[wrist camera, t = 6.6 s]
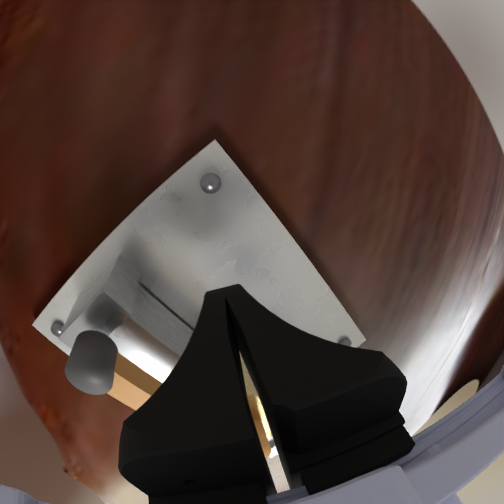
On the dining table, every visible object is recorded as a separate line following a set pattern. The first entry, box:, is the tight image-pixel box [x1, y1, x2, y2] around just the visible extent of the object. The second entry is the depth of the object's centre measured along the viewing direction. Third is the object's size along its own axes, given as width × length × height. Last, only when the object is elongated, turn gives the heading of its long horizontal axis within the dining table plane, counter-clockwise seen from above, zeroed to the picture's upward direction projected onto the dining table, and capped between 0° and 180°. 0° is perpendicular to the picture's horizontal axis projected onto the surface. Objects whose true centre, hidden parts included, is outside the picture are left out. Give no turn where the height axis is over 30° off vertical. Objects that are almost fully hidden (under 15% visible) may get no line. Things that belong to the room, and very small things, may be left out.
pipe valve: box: [58, 254, 278, 458], centre depth 17 cm, size 18×6×5 cm, turn 37°
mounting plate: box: [32, 139, 366, 356], centre depth 18 cm, size 18×16×1 cm
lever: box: [65, 330, 271, 458], centre depth 12 cm, size 12×3×2 cm, turn 37°
